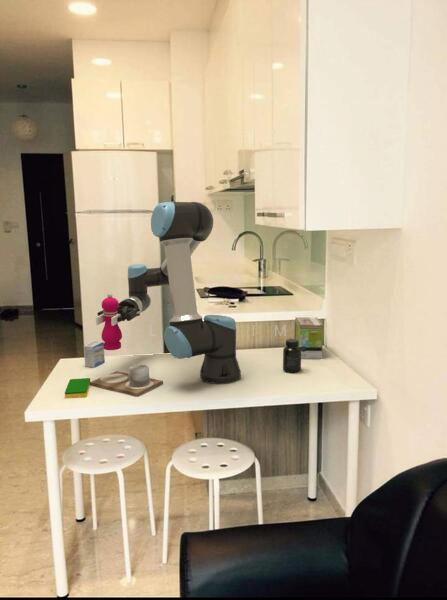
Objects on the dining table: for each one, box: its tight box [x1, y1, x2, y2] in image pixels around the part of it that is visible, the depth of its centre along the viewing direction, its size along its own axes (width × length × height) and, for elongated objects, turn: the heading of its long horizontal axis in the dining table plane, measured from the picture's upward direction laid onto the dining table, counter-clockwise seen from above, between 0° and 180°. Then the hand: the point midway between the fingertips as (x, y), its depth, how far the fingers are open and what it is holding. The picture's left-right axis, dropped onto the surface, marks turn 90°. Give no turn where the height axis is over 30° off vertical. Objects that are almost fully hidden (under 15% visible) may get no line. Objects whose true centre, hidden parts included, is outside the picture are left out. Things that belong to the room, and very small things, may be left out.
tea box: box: [294, 316, 324, 360], centre depth 215 cm, size 15×10×15 cm
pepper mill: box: [100, 292, 123, 351], centre depth 180 cm, size 7×7×20 cm
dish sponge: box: [64, 377, 91, 399], centre depth 176 cm, size 7×14×2 cm, turn 9°
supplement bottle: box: [282, 338, 302, 374], centre depth 194 cm, size 7×7×12 cm
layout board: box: [90, 364, 164, 398], centre depth 180 cm, size 22×14×7 cm, turn 59°
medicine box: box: [83, 340, 105, 368], centre depth 204 cm, size 8×4×9 cm, turn 162°
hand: (104, 321), depth 175 cm, fingers closed on pepper mill, 5 cm apart
